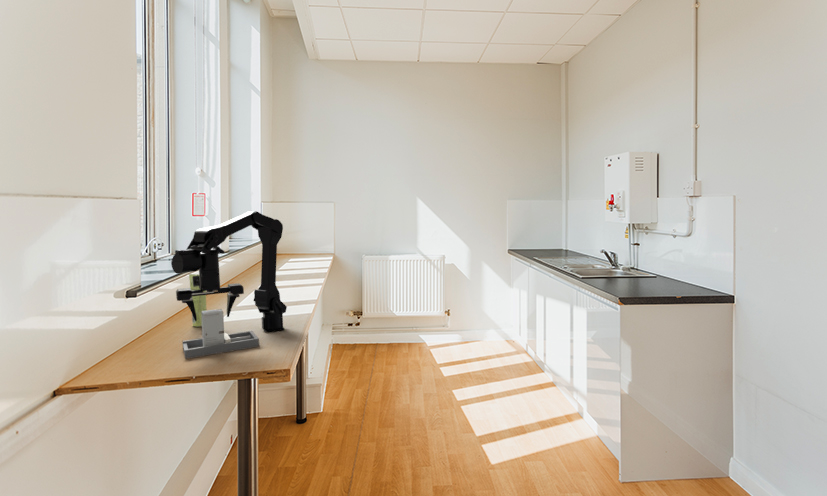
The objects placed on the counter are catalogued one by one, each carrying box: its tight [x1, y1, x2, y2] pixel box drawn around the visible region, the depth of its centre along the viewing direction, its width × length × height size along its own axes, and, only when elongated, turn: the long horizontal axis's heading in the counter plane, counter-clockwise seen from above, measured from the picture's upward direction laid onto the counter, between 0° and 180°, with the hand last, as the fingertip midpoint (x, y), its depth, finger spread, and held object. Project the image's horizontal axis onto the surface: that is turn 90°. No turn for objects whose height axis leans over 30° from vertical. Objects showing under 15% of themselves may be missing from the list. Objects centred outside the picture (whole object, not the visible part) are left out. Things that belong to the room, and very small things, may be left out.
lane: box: [182, 330, 260, 359], centre depth 142 cm, size 21×11×2 cm, turn 120°
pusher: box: [224, 332, 251, 343], centre depth 144 cm, size 8×8×3 cm
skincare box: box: [201, 308, 225, 347], centre depth 140 cm, size 6×4×12 cm
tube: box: [188, 273, 207, 328], centre depth 169 cm, size 6×5×20 cm
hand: (212, 318), depth 140 cm, fingers open, 9 cm apart
